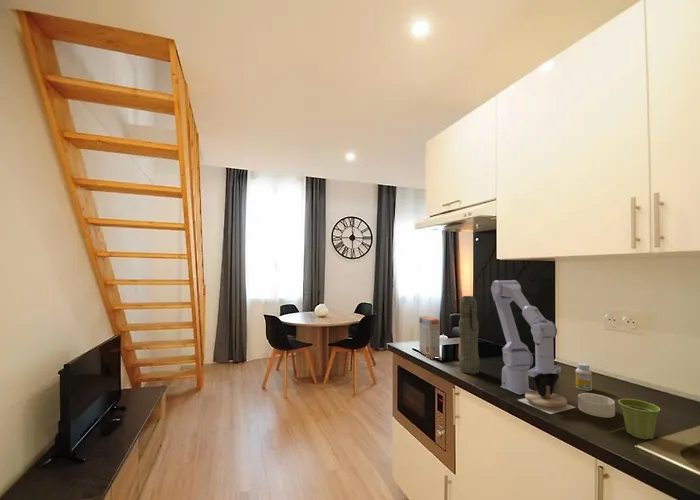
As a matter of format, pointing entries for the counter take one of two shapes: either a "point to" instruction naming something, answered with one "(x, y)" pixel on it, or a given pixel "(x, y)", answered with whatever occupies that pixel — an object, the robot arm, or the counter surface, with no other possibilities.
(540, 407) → the mat
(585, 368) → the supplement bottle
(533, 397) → the lid
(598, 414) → the bowl
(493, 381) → the counter surface
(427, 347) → the cracker box
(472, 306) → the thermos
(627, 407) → the plant pot
